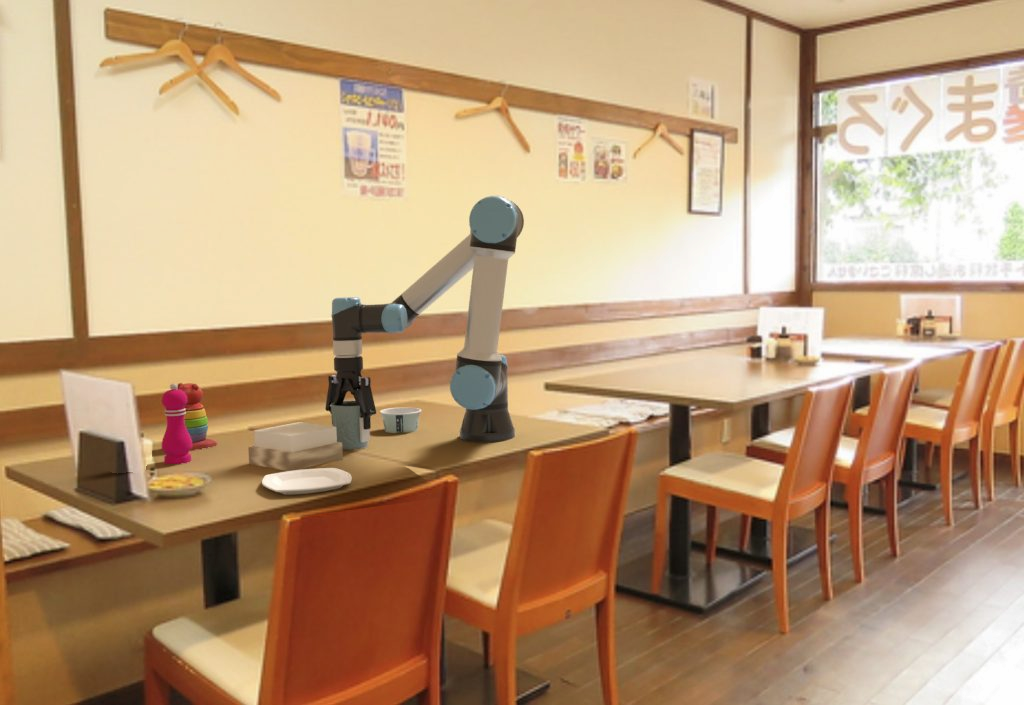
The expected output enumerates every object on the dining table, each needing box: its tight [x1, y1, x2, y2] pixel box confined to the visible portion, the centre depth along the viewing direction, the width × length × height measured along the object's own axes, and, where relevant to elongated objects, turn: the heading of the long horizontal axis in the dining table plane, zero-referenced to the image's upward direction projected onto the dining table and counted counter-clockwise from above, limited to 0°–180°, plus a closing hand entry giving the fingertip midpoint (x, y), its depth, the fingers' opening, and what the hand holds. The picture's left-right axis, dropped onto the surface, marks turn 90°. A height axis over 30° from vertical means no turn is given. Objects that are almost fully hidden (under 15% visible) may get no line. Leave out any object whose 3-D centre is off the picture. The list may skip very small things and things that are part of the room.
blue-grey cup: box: [330, 400, 369, 451], centre depth 235 cm, size 10×10×12 cm
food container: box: [379, 406, 422, 434], centre depth 257 cm, size 12×12×6 cm
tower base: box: [247, 442, 344, 472], centre depth 218 cm, size 16×16×5 cm
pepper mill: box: [161, 382, 192, 465], centre depth 221 cm, size 7×7×20 cm
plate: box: [261, 467, 353, 496], centre depth 194 cm, size 19×19×2 cm
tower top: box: [253, 421, 337, 453], centre depth 218 cm, size 14×14×4 cm
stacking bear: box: [177, 382, 218, 451], centre depth 239 cm, size 11×10×18 cm
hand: (351, 439), depth 235 cm, fingers closed on blue-grey cup, 10 cm apart
